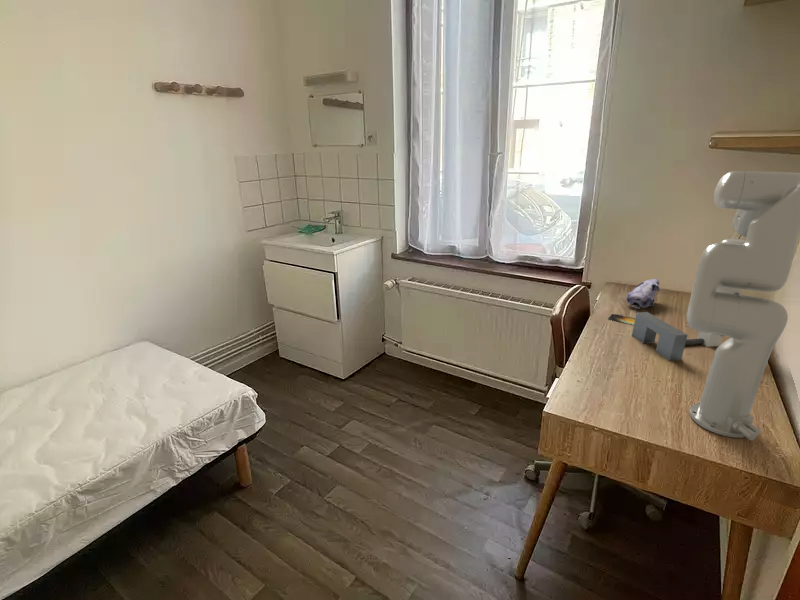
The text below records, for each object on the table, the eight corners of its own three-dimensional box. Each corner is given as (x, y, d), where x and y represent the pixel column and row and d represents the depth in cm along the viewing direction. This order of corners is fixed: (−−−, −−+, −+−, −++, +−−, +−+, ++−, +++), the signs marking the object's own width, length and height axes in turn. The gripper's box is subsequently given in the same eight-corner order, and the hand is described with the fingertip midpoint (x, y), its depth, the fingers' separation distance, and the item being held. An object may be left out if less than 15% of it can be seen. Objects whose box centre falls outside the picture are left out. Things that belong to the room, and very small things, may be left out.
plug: (719, 345, 143) (723, 333, 141) (673, 349, 140) (677, 336, 139) (708, 339, 147) (711, 327, 145) (664, 343, 145) (667, 330, 143)
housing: (681, 359, 134) (687, 334, 131) (669, 360, 133) (675, 335, 130) (642, 334, 150) (647, 312, 147) (631, 335, 150) (636, 312, 147)
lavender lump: (666, 304, 177) (671, 281, 174) (645, 314, 168) (650, 289, 164) (641, 297, 185) (646, 275, 181) (620, 306, 175) (625, 283, 171)
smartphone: (612, 313, 168) (656, 322, 159) (611, 315, 168) (655, 324, 159) (607, 319, 163) (652, 329, 154) (607, 320, 163) (652, 330, 154)
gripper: (761, 287, 129) (745, 340, 135) (714, 271, 145) (701, 319, 151) (739, 288, 128) (724, 341, 133) (693, 271, 144) (681, 320, 150)
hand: (712, 329), depth 142 cm, fingers open, 9 cm apart
